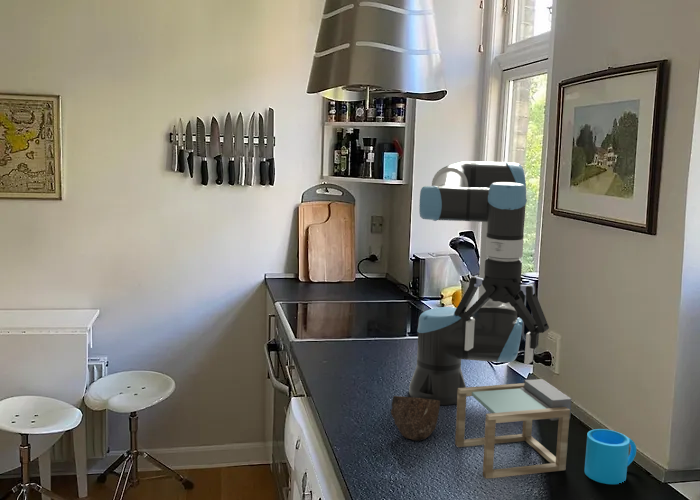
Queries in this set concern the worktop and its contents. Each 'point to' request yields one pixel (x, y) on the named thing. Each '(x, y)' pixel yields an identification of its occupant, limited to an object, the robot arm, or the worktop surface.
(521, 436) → the frame
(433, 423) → the rock
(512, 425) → the worktop surface
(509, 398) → the trapdoor
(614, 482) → the mug
